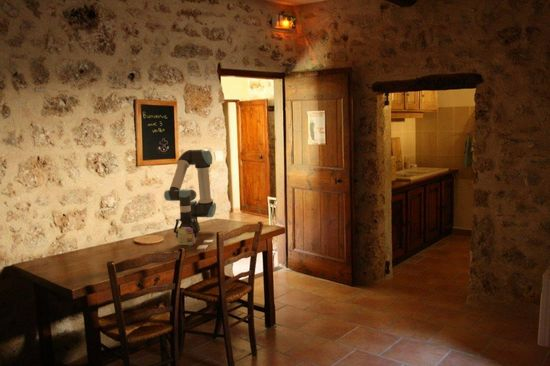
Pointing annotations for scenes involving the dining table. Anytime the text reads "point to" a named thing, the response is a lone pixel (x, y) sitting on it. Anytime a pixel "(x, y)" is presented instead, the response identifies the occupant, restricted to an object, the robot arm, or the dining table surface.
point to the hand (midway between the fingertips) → (186, 242)
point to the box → (184, 235)
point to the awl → (189, 239)
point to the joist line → (205, 245)
